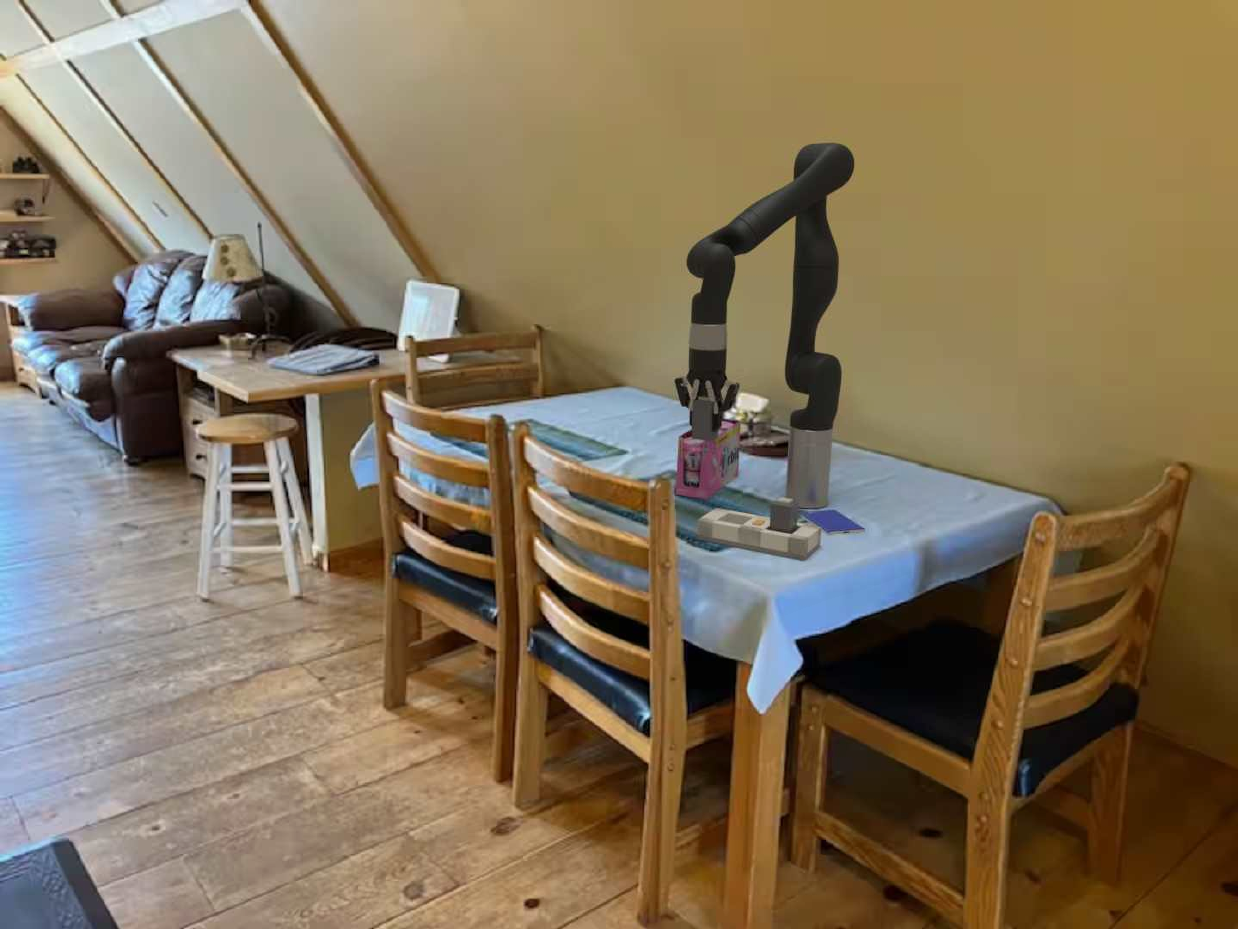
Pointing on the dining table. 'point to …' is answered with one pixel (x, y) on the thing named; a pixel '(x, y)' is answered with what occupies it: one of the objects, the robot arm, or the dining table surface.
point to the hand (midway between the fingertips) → (705, 429)
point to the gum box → (708, 461)
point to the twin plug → (784, 515)
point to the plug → (702, 419)
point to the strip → (757, 534)
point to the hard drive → (832, 522)
